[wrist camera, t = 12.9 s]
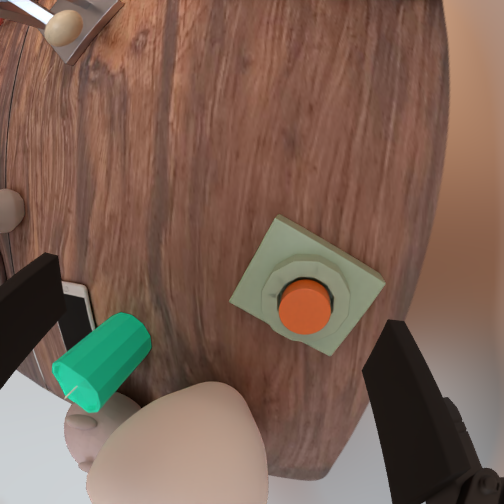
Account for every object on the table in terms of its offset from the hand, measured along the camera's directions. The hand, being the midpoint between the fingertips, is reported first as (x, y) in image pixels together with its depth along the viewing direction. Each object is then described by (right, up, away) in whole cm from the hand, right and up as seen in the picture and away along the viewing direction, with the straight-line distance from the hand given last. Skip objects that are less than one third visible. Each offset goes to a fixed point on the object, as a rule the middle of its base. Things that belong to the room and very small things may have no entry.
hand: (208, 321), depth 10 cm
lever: (-18, +25, +3) cm, 31 cm away
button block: (+6, 0, +14) cm, 16 cm away
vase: (-2, -13, +20) cm, 24 cm away
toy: (-17, -14, +16) cm, 27 cm away
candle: (-12, -7, +20) cm, 25 cm away
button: (+5, -1, +11) cm, 12 cm away
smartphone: (-21, -8, +22) cm, 32 cm away
